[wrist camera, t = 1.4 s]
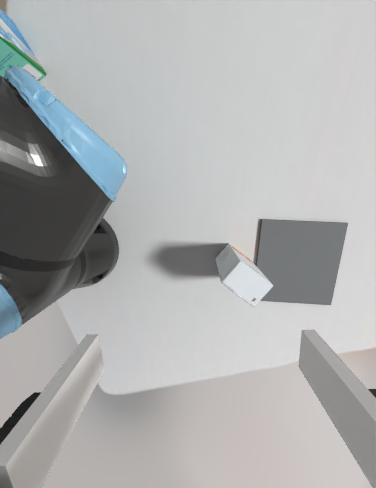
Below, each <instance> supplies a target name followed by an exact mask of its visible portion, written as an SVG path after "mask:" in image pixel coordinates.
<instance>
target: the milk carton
mask: <svg viewBox="0 0 376 488" xmlns="http://www.w3.org/2000/svg"><path fill="white" fill-rule="evenodd" d="M13 66H19V67H21V68H23V69H24V70H25V71H26V72H28V73H29V74H30V75H31V76H32V77H33V78H34V79H36V80H37V81H39V80H40V79H41V78H42V77H44V76H45V75H46V73H45V71H44V70H43V68H42V66H41V65H40V63H39V62H38V60H37V59H36V57H35V55H34V54H33V52H32V51H31V49H30V48H29V46H28V44H27V43H26V41H25V40H24V38H23V37H22V35H21V33H20V32H19V30H18V29H17V27H16V26H15V24H14V22H13V21H12V20H11V19H10V18H9V17H8V16H7V15H6V14H5V13H4V12H3V11H2V10H1V9H0V76H2V77H4V78H6V79H7V77H6V76H5V70H7V69H11V68H12V67H13Z"/></svg>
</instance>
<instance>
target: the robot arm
mask: <svg viewBox="0 0 376 488" xmlns="http://www.w3.org/2000/svg"><path fill="white" fill-rule="evenodd" d="M5 76H6V77H7V79H6V78H4V77H2V76H0V339H1V338H3V337H4V336H6V335H8V334H9V333H12V332H15V331H16V330H18V328H19V327H20V326H21V325H22V324H24V323H25V322H27V321H28V320H29V319H31V318H32V317H34V316H35V315H37V314H38V313H39V312H41V311H42V310H44V309H45V308H47V307H48V306H49V305H51V304H52V303H54V302H55V301H56V300H58V299H59V298H61V297H62V296H64V295H65V294H66V293H68V292H69V291H71V290H72V289H76V288H81V287H86V286H90V285H93V284H95V283H98V282H99V281H101V280H102V279H103V278H105V277H106V276H107V275H108V274H109V273H110V272H111V271H112V270H113V268H114V267H115V265H116V263H117V259H118V254H119V247H118V241H117V238H116V235H115V233H114V231H113V229H112V228H111V226H110V225H109V224H108V223H107V222H106V221H105V220H104V219H103V216H104V215H105V213H106V211H107V210H108V208H109V206H110V205H111V203H112V202H114V201H115V200H116V197H115V196H116V194H117V192H118V191H119V189H120V187H121V185H122V183H123V181H124V180H125V178H126V175H127V166H126V163H125V161H124V159H123V158H122V156H121V155H120V154H119V153H118V152H116V151H115V150H114V149H113V148H112V147H111V146H110V145H109V144H108V143H107V142H105V141H104V140H103V139H102V138H101V137H100V136H99V135H98V134H97V133H95V132H94V131H93V130H92V129H91V128H90V127H89V126H88V125H86V124H85V123H84V122H83V121H82V120H81V119H80V118H78V117H77V116H76V115H75V114H74V113H73V112H72V111H71V110H69V109H68V108H67V107H66V106H65V105H64V104H63V103H61V102H60V101H59V100H58V99H57V98H56V97H55V96H53V95H52V94H51V93H50V92H49V91H48V90H47V89H45V88H44V87H43V86H42V85H41V84H40V83H39V82H38V81H37V80H36V79H34V78H33V77H32V76H31V75H30V74H29V73H28V72H26V71H25V70H24V69H23V68H21V67H19V66H13V67H12V68H11V69H7V70H5ZM299 368H300V370H301V371H302V373H303V374H304V376H305V378H306V379H307V381H308V383H309V384H310V386H311V388H312V389H313V391H314V393H315V394H316V396H317V397H318V399H319V401H320V402H321V404H322V406H323V407H324V409H325V410H326V412H327V414H328V415H329V417H330V419H331V420H332V422H333V424H334V425H335V427H336V428H337V430H338V432H339V433H340V435H341V437H342V438H343V440H344V441H345V443H346V445H347V446H348V448H349V450H350V451H351V453H352V455H353V456H354V458H355V460H356V461H357V463H358V464H359V466H360V467H361V469H362V471H363V473H364V474H365V476H366V477H367V479H368V481H369V482H370V484H371V486H372V487H373V488H376V389H367V388H366V387H365V386H364V384H363V383H362V382H361V381H360V380H359V379H358V378H357V377H356V376H355V374H354V373H353V372H352V371H351V370H350V369H349V368H348V367H347V366H346V364H345V363H344V362H343V361H342V360H341V359H340V358H339V357H338V356H337V354H336V353H335V352H334V351H333V350H332V349H331V348H330V347H329V346H328V344H327V343H326V342H325V341H324V340H323V339H322V338H321V337H320V336H319V334H318V333H317V332H316V331H315V330H302V335H301V346H300V357H299ZM103 371H104V364H103V359H102V353H101V347H100V341H99V336H98V334H97V335H86V337H85V338H84V339H83V340H82V342H81V343H80V344H79V345H78V347H77V348H76V350H75V351H74V352H73V353H72V354H71V356H70V357H69V358H68V360H67V361H66V362H65V363H64V365H63V366H62V367H61V368H60V370H59V371H58V372H57V374H56V375H55V376H54V377H53V378H52V380H51V381H50V382H49V384H48V385H47V386H46V388H45V389H44V390H43V391H42V392H41V393H33V394H32V395H31V396H30V397H28V398H27V399H26V400H25V401H23V402H22V403H21V404H20V406H19V407H18V408H17V409H16V410H15V412H14V413H13V414H12V416H11V417H9V419H8V420H7V421H6V422H5V424H4V425H3V427H2V428H0V488H42V486H43V484H44V482H45V481H46V479H47V476H48V475H49V473H50V471H51V469H52V467H53V465H54V463H55V461H56V460H57V458H58V456H59V454H60V452H61V450H62V448H63V446H64V444H65V443H66V441H67V439H68V437H69V435H70V433H71V431H72V429H73V428H74V426H75V424H76V422H77V420H78V418H79V416H80V414H81V412H82V411H83V408H84V407H85V405H86V403H87V401H88V399H89V397H90V395H91V393H92V392H93V390H94V388H95V386H96V384H97V382H98V380H99V378H100V377H101V375H102V373H103Z"/></svg>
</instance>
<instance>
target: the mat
mask: <svg viewBox="0 0 376 488" xmlns="http://www.w3.org/2000/svg"><path fill="white" fill-rule="evenodd" d="M347 226H348V223H338V222H315V221H291V220H268V219H262V220H261V228H260V237H259V246H258V254H257V263H256V266H257V267H258V269H259V270H260V271H261V272H262V273H263V274H264V275H265V277H266V278H267V279H268V280H269V281H270V282H271V283H272V285H273V287H272V288H271V289H270V290H269V291H268V293H267V294H266V295H265V296H264V297H263V298H262V299H261V300H260V301H273V302H289V303H305V304H321V305H331V302H332V297H333V292H334V288H335V283H336V278H337V273H338V269H339V264H340V259H341V254H342V249H343V245H344V240H345V235H346V230H347Z"/></svg>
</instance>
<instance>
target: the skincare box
mask: <svg viewBox="0 0 376 488" xmlns="http://www.w3.org/2000/svg"><path fill="white" fill-rule="evenodd" d="M215 261H216V264H217V268H218V272H219V276H220V279H221V283H222V284H224V285H225V286H226V287H228V288H229V289H230V290H232V291H233V292H234V293H235V294H236V295H238V296H239V297H241V298H242V299H243V300H245V301H246V302H247V303H249V304H250V305H252V306H253V307H255V306H256V305H257V303H258V302H259V301H260V300H261V299H262V298H263V297H264V296H265V295H266V294H267V293H268V291H269V290H270V289H271V288H272V287H273V285H272V283H271V282H270V281H269V280H268V279H267V278H266V277H265V275H264V274H263V273H262V272H261V271H260V270H259V269H258V267H257V266H256V265H255V264H254V263H253V262H252V261H251V260H250V259H248V258H247V257H246V256H244V255H243V254H242V253H240V252H239V251H238V250H236V249H235V248H234V247H233V246H231V245H230V244H229V243H228V244H227V245H226V247H225V248H224V249H223V250H222V251H221V253H220V254H219V255H218V256H217V257H216V259H215Z"/></svg>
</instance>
